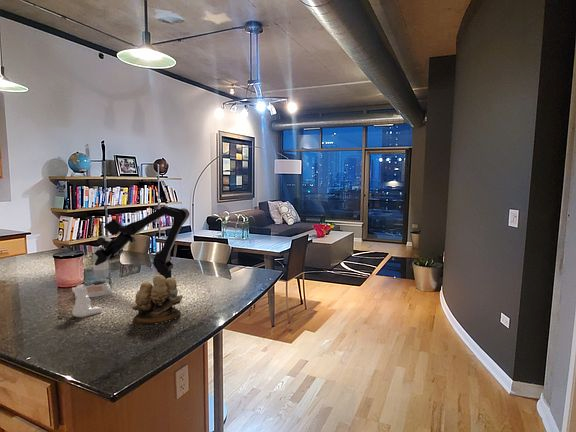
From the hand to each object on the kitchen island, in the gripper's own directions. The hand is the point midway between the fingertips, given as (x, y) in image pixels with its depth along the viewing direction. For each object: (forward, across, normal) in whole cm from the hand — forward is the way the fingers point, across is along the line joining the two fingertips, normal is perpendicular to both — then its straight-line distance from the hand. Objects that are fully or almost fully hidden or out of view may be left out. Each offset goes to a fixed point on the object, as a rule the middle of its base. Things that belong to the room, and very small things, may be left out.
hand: (98, 263), depth 176 cm
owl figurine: (-25, +44, +39) cm, 64 cm away
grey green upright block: (+4, 0, +6) cm, 7 cm away
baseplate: (+2, +16, +10) cm, 20 cm away
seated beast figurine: (-5, +42, +18) cm, 46 cm away
